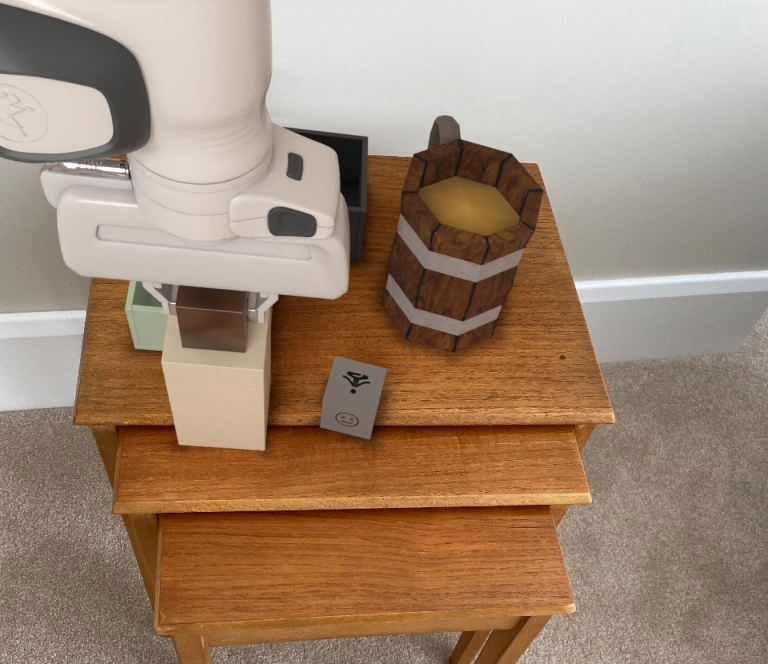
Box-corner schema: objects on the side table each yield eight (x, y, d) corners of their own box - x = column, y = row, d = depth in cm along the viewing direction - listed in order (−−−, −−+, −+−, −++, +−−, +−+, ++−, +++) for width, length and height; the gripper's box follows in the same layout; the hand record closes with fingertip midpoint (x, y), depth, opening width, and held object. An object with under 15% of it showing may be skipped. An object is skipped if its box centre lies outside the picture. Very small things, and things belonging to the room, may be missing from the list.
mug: (514, 349, 83) (561, 246, 69) (390, 355, 80) (413, 250, 67) (477, 211, 91) (512, 94, 77) (363, 213, 88) (379, 93, 75)
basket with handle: (134, 349, 77) (114, 270, 67) (150, 263, 81) (133, 178, 72) (268, 360, 78) (267, 285, 68) (275, 275, 83) (276, 193, 73)
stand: (178, 445, 73) (160, 362, 61) (188, 374, 76) (173, 282, 65) (265, 451, 74) (263, 370, 62) (270, 380, 77) (270, 291, 66)
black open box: (239, 249, 84) (236, 198, 77) (247, 175, 88) (245, 122, 82) (359, 261, 85) (366, 212, 79) (361, 188, 90) (368, 136, 84)
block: (181, 348, 62) (175, 306, 58) (189, 298, 64) (182, 255, 60) (245, 353, 63) (243, 312, 58) (250, 304, 65) (249, 261, 60)
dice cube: (380, 398, 78) (387, 368, 74) (370, 439, 76) (376, 412, 71) (331, 385, 78) (335, 355, 73) (319, 427, 76) (322, 398, 71)
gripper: (21, 189, 47) (73, 333, 59) (359, 224, 49) (341, 355, 62) (41, 117, 50) (87, 269, 62) (360, 153, 52) (343, 293, 64)
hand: (216, 312), depth 62 cm, fingers closed on block, 5 cm apart
